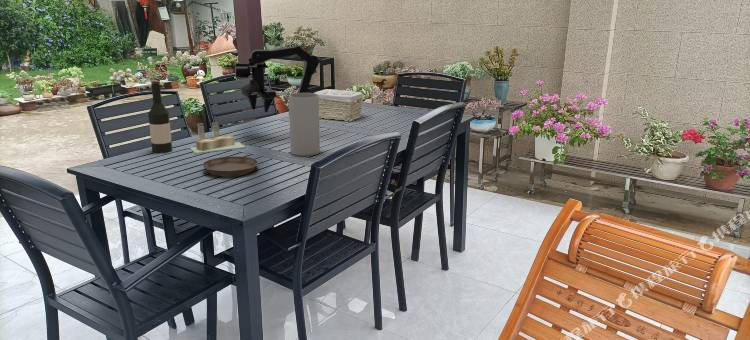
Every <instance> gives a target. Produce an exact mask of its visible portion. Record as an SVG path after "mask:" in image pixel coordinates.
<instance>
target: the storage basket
mask: <svg viewBox="0 0 750 340" xmlns="http://www.w3.org/2000/svg"><path fill="white" fill-rule="evenodd" d="M314 93H315V94H318V95H319V119H322V118H324V119H323V120H330V119H336V120H351V119H353V118H355V117H358V116H360V115H362V104H363V103H362V102H363V98H364V95H363V92H359V91H352V90H344V89H343V90H340V89H330V88H329V89H327V88H325V89H322V90H319V91H318V90H317V91H316V92H314ZM336 120H335V121H336Z"/></svg>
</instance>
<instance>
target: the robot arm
mask: <svg viewBox="0 0 750 340" xmlns="http://www.w3.org/2000/svg"><path fill="white" fill-rule="evenodd" d="M288 56H289V57H290V56H291V57H292V56H298V57H299V58H300V59H301V60H303V73H302V77H301V79H300V84H299V87H298V90H297V93H308V91H309V87H310V83H311V80H312V77H313V75H314V73H315V72H316V70H317V68H318V66H319V64H320V61H319V58H318V57H317V56H315V55H313V54H310V53H308V52H307V51H305V50H304V49H302V47H301V46H299V45H294V46H289V47H288V46H286V47H281V48H275V49H274V48H273V49H253V50H252V51H251V52H250V57H249V59H248V60H247V61H246V63H245V62H244V63H243V62H235V63H234V75H235V79H248V78H249V77H251V79H249V83H248V84H246V85H244V86H242V87H241V94H242V95H243V96H244V97H245V98H247V100H248V102H249V104H250V106H251V109H252V110H253V111H255V110H256V106H257V99H258V95H259V96H261V101H262V102H263V108H264V113H268V111H269V109H270V107H271V104H272V103H273V102H274V100H275V99H276V98H277V97H278V96H277V92H276V91H275V90H268V88H267V87H266V83H267V81H268V80H267V79H265V76H266V75H265V69H268V68H269V65H267V63H266V62H267V61H269V60H272V59H279V58H283V57H288ZM287 112H289V109H287Z"/></svg>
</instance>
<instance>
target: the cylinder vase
mask: <svg viewBox="0 0 750 340" xmlns="http://www.w3.org/2000/svg"><path fill="white" fill-rule="evenodd" d="M288 110H289V111H288V116H289V138H290V139H289V140H290V142H289V143H290V153H291V154H292V155H294V156H299V157H309V156H310V157H311V155H312V156H315V155H319V153H320V151H321V147H320V146H321V143H320V141H321V140H320V139H321V138H320V135H321V134H320V118H319V95H318V94H315V92H313V93H312V92H307V93H298V92H295V93H291V94H290V93H289V94H288Z"/></svg>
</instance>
